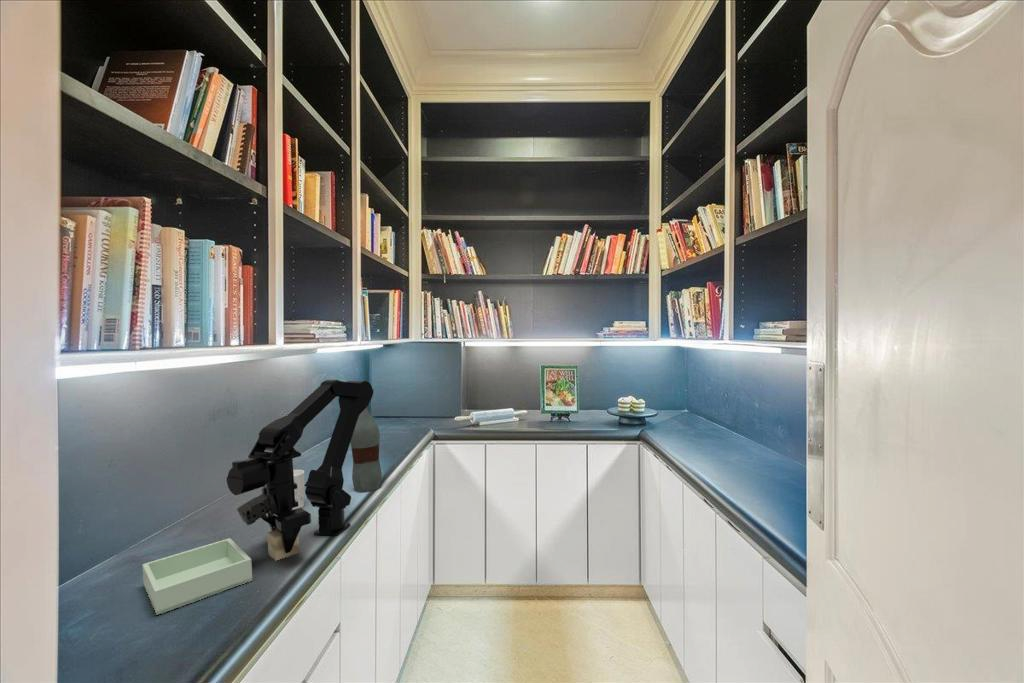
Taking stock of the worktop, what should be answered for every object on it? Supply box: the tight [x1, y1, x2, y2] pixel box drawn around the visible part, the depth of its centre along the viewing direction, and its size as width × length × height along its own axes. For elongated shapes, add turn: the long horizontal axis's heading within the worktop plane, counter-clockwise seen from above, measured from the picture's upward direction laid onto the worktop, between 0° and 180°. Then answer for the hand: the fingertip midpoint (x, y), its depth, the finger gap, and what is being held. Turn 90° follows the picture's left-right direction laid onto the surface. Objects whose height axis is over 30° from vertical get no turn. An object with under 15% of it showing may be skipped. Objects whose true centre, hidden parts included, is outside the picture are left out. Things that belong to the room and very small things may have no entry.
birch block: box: [266, 530, 300, 562], centre depth 107 cm, size 5×5×5 cm
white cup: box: [292, 469, 306, 510], centre depth 137 cm, size 8×8×10 cm
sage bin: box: [142, 537, 253, 616], centre depth 95 cm, size 16×16×4 cm
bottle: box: [350, 407, 383, 493], centre depth 152 cm, size 9×9×30 cm
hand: (283, 549), depth 107 cm, fingers closed on birch block, 5 cm apart
